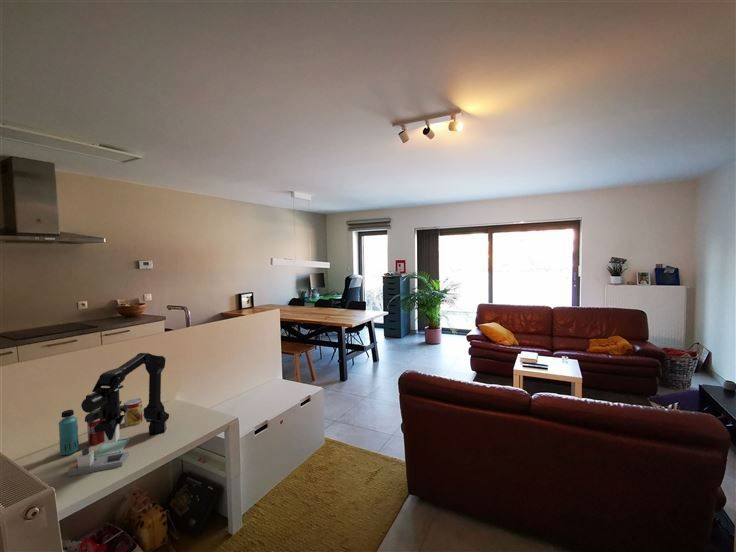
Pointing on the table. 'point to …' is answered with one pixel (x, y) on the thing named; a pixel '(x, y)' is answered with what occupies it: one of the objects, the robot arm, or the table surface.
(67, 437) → the beverage bottle
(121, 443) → the tray
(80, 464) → the twin plug
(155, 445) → the table surface
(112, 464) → the pdu strip
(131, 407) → the canned food
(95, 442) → the soda can
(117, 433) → the plug
